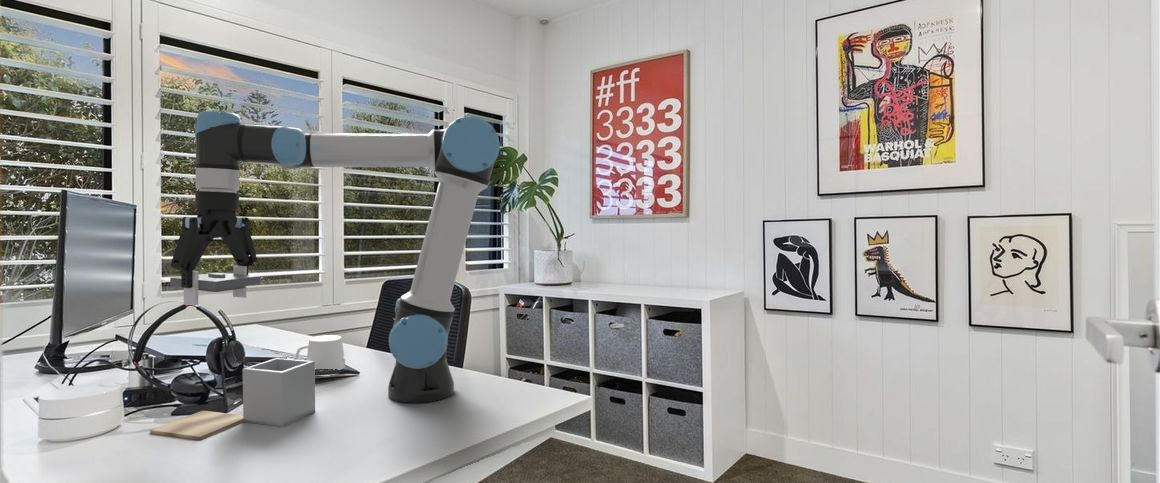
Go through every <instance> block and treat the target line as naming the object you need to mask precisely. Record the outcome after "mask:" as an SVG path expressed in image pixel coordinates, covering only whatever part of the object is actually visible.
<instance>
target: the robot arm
mask: <svg viewBox="0 0 1160 483" xmlns="http://www.w3.org/2000/svg"><path fill="white" fill-rule="evenodd" d="M194 137H195V188H196V189H198V191H196V192H195V193H194V195H195V196H194V197H195V198H194V201H195V202H194V204H195V205H194V208H195V210H197V211H198V212H197V216H196V217H195V216H183V217H182V219H181V231H180V234H179V237H178V240H177V243H176V246H175V249H174V253H173V256H172V258H171V263H170V267H171V268H174V269H175V270H177V271H180V274H181V276H180V277H181V286H182V287H181V288H183V305H185V306H199V291H198V281H199V275H200V274H199V273H200V272H199V270H196V268H197V266H198V264H199V262H200V260H201V259H202V257H203V255H204V253H205V251H206V249H207V248H208V246H209V244H210V242H212V241H213V240H214V239H221V240H222V241H224V243H225V245H226V246H227V249H228V250H229V252H230V254H231V256H232V257H233V259H234V261H235V263H236V265H232V266H233V267H232V268H233V272H232V274H239V275H249V267H252V266H254V263H256V262H257V261H258V257H257V253H256V251H255V250H256V249H255V246H254V243H253V239H252V235H251V230H250V218H249V217H246V216H237V215H236V214H237V213H236V212H237V211H239V209H240V195H239V193H237V191H239V190H240V163H252V164H253V163H254V164H269V165H273V166H275V165H276V166H278V167H282V168H285V169H293V170H294V169H295V170H296V169H299V168H430V169H431V170H432V171H433V172H434V175H435V177H436V178H437V180H438V185H437V190H436V194H435V196H434V201H433V204H432V208H431V212H430V215H429V219H428V222H427V227H426V230H425V234H424V238H423V241H422V246H421V249H420V253H419V255H418V256H419V257H418V260H417V264H416V267H415V270H414V271H415V272H414V275H413V278H412V283H411V287H410V290H409V291H408V292H406V293H404V294H403V295H401V296H400V298H398V299H397V300H396V302H395V308H394V312H395V317H394V321H393V325H392V328H391V329H390V332H389V335H388V348H389V350H390V353H391V355H392V357H393V358H394V360H395V364H394V368H393V369H392V373H391V377H390V379H389V383H388V386H387V390H388V391H387V392H388V393H387V395H388V398H389V399H390V400H393V401H395V402H399V403H409V404H410V403H411V404H417V403H418V404H419V403H421V404H422V403H430V402H436V401H440V400H443V399H447V398H449V397H450V396H452V395H453V394H454V392H455V383H454V379H453V375H452V372H451V369H450V367H449V364H448V361H447V348H448V344H449V342H448V339H449V338H448V337H449V333H450V329H451V325H452V321H453V318H454V314H455V310H456V307H454V305H453V304H452V302H451V299H452V294H453V291H454V286H455V282H456V279H457V276H458V272H459V268H460V264H461V260H462V256H463V253H464V249H465V245H466V241H467V238H468V233H469V231H470V228H471V223H472V219H473V216H474V211H475V209H476V204H477V201H478V197H479V194H480V193H481V192H483V191H484V190H486V189H488V187H489V183H490V179H491V177H492V172H493V170H494V169H493V168H494V165H495V162H496V161H497V159H498V157H499V154H500V149H501V147H500V146H501V145H500V144H501V143H500V139H499V136H498V134H497V131H496V130H495V128H494V127H493V126H492V125H491V123H489V122H488V121H486V120H484V119H483V118H481V117H479V116H478V117H477V116H475V115H474V116H473V115H469V116H468V115H467V116H462V117H461V116H460V117H458V118H456V119H454V120H453V121H452V122H450V123H449V124H448V125H447V126H446V128H444V129H432V130H430V132H428V133H423V134H422V133H420V134H419V133H417V134H416V133H306V132H305V133H304V131H303V130H302V129H300V128H299V127H298V128H296V127H290V126H286V125H285V126H283V125H282V126H276V125H275V126H273V125H272V126H271V125H254V124H253V125H252V124H244V123H242V122H241V117H240V116H239V115H238V114H237V113H233V112H232V113H231V112H227V111H225V112H224V111H219V110H218V111H217V110H203V111H200V112H199V113H198V114H197V115H196V126H195V132H194ZM232 297H233V298H241V299H242V298H243V299H244V298H245V299H246V298H247V286H245V288H242V289H235V290H232Z"/></svg>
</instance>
